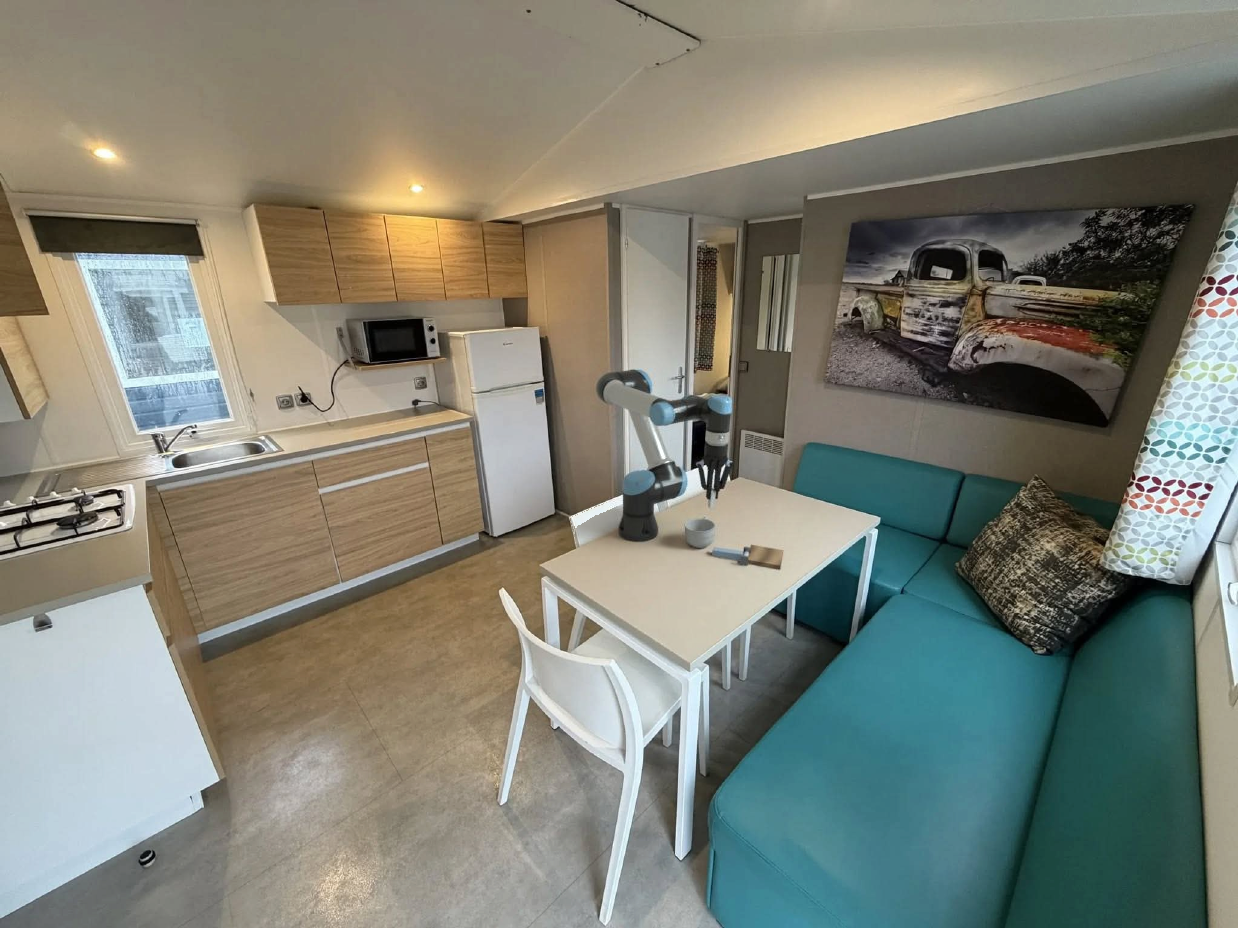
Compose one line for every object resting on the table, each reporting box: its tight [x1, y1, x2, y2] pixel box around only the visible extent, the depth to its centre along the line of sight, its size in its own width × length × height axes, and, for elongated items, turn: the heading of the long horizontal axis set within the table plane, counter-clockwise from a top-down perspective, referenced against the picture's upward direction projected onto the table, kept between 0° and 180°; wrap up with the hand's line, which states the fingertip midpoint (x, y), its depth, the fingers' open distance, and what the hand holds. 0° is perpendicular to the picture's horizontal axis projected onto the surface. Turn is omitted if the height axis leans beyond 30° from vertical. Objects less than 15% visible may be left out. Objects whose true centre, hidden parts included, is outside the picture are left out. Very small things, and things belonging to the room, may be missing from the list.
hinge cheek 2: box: [739, 555, 749, 567], centre depth 160 cm, size 2×1×3 cm, turn 67°
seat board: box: [748, 544, 784, 570], centre depth 164 cm, size 11×11×1 cm
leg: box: [711, 546, 749, 562], centre depth 165 cm, size 12×5×3 cm, turn 68°
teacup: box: [684, 516, 716, 549], centre depth 175 cm, size 14×11×8 cm
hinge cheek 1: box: [742, 546, 751, 555], centre depth 166 cm, size 2×1×3 cm, turn 67°
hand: (711, 507), depth 167 cm, fingers closed
